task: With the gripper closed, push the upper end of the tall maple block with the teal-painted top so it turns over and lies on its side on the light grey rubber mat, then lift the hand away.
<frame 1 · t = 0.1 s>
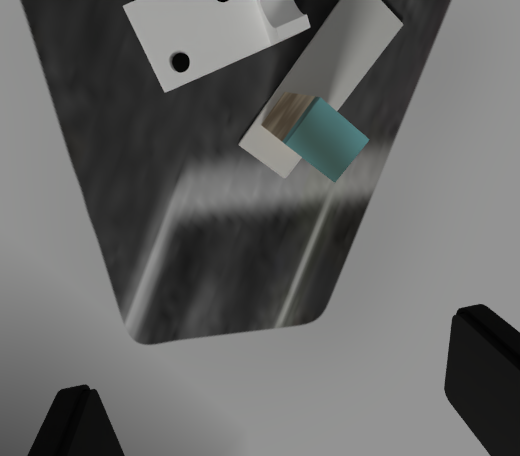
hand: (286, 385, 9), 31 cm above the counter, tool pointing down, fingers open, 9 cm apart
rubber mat: (316, 86, 36), on the counter
bracket: (213, 26, 33), on the counter
maple block: (291, 123, 37), point 1 cm above the counter, touching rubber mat
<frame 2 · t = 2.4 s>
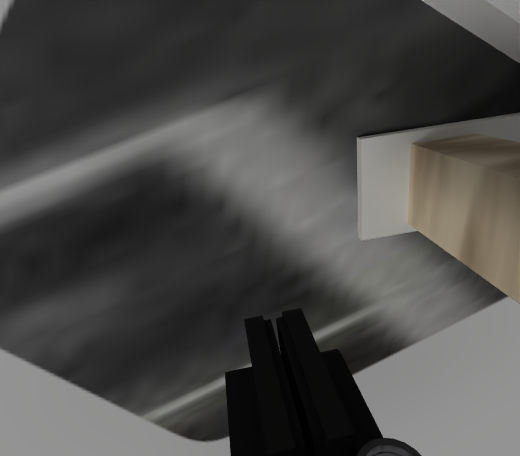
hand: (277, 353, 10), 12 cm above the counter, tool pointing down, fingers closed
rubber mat: (501, 166, 22), on the counter
maple block: (440, 179, 21), point 1 cm above the counter, touching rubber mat
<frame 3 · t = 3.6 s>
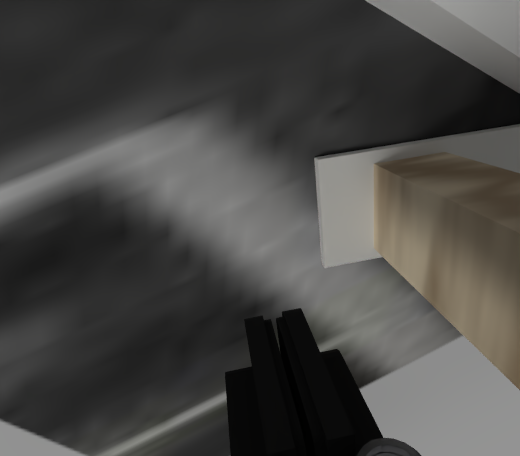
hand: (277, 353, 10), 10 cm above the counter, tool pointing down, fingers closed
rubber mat: (475, 185, 21), on the counter
maple block: (407, 202, 20), point 1 cm above the counter, touching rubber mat
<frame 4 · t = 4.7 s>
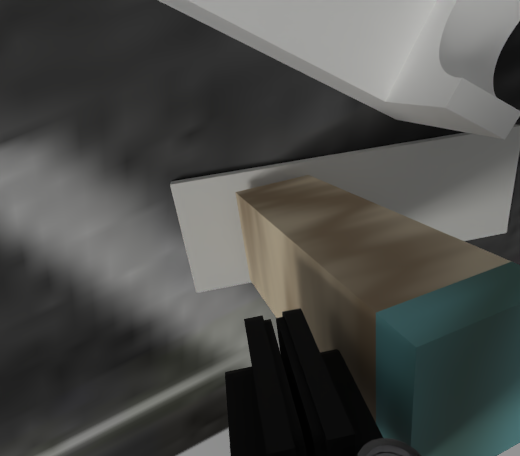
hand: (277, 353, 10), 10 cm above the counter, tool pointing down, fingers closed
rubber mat: (351, 207, 20), on the counter
maple block: (278, 228, 19), point 1 cm above the counter, tilted 12°, touching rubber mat
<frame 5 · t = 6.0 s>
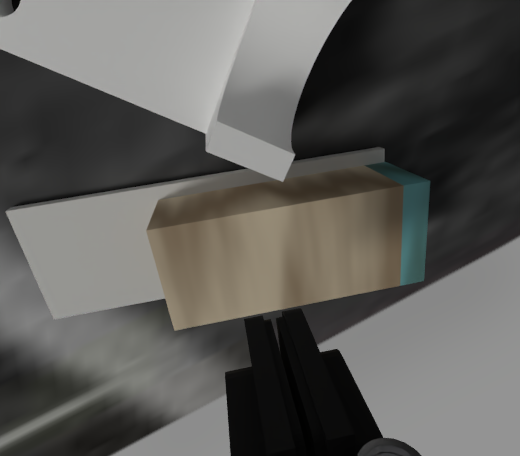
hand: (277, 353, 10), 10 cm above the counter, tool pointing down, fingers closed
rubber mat: (214, 231, 19), on the counter
bracket: (149, 11, 16), on the counter
maple block: (165, 262, 17), point 3 cm above the counter, tilted 90°, touching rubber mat
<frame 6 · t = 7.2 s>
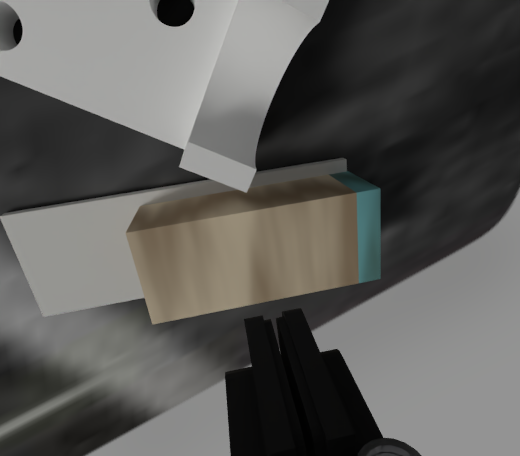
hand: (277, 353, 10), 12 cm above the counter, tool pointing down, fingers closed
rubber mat: (193, 235, 21), on the counter
bracket: (136, 41, 17), on the counter
maple block: (145, 262, 18), point 3 cm above the counter, tilted 90°, touching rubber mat
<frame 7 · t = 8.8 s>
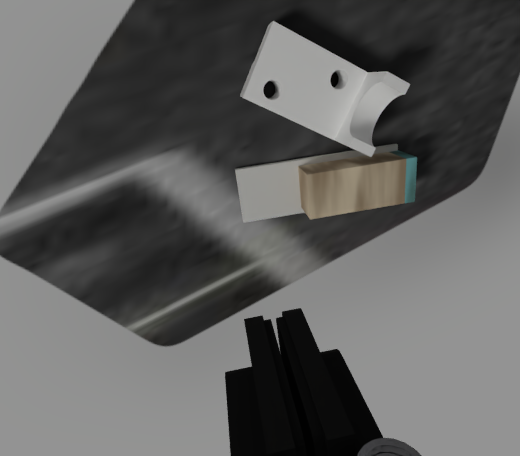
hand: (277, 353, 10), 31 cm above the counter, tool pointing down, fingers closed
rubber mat: (318, 182, 42), on the counter
bracket: (307, 89, 38), on the counter
maple block: (304, 192, 39), point 3 cm above the counter, tilted 90°, touching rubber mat
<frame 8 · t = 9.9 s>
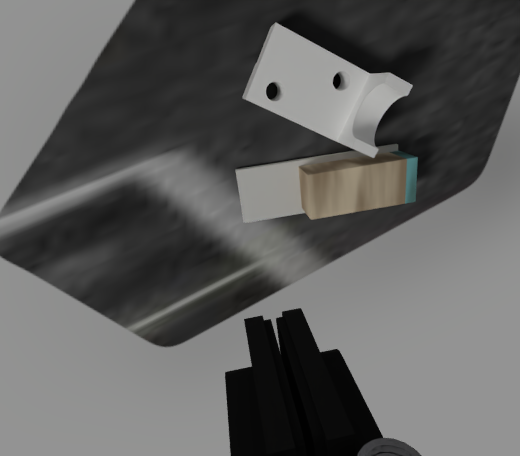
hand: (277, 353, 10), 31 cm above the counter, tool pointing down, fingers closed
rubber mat: (318, 183, 42), on the counter
bracket: (309, 91, 38), on the counter
maple block: (304, 192, 39), point 3 cm above the counter, tilted 90°, touching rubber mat
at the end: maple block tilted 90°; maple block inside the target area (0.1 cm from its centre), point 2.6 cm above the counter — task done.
